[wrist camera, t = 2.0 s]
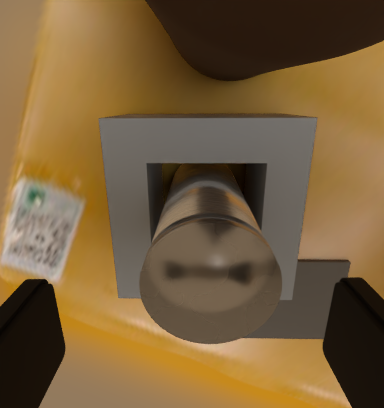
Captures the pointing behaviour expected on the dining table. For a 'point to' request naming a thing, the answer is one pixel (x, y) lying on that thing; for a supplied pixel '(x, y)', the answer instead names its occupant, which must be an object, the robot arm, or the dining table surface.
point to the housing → (205, 153)
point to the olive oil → (267, 32)
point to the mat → (305, 302)
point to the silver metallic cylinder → (209, 261)
